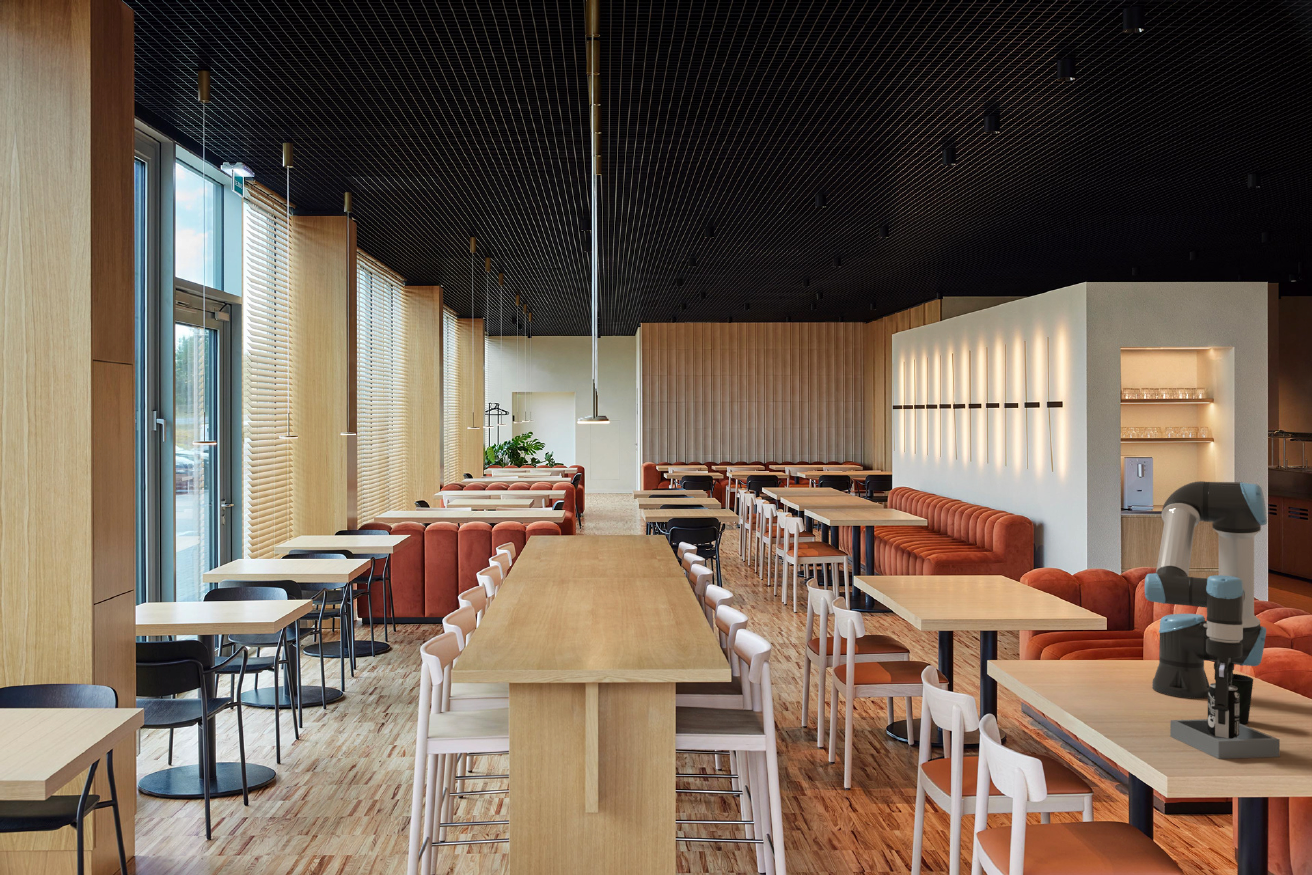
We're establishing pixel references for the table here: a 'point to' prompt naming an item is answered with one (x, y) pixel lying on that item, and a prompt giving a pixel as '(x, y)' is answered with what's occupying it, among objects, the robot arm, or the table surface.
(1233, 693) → the beverage can
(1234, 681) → the cup
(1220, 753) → the tray
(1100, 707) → the table surface
